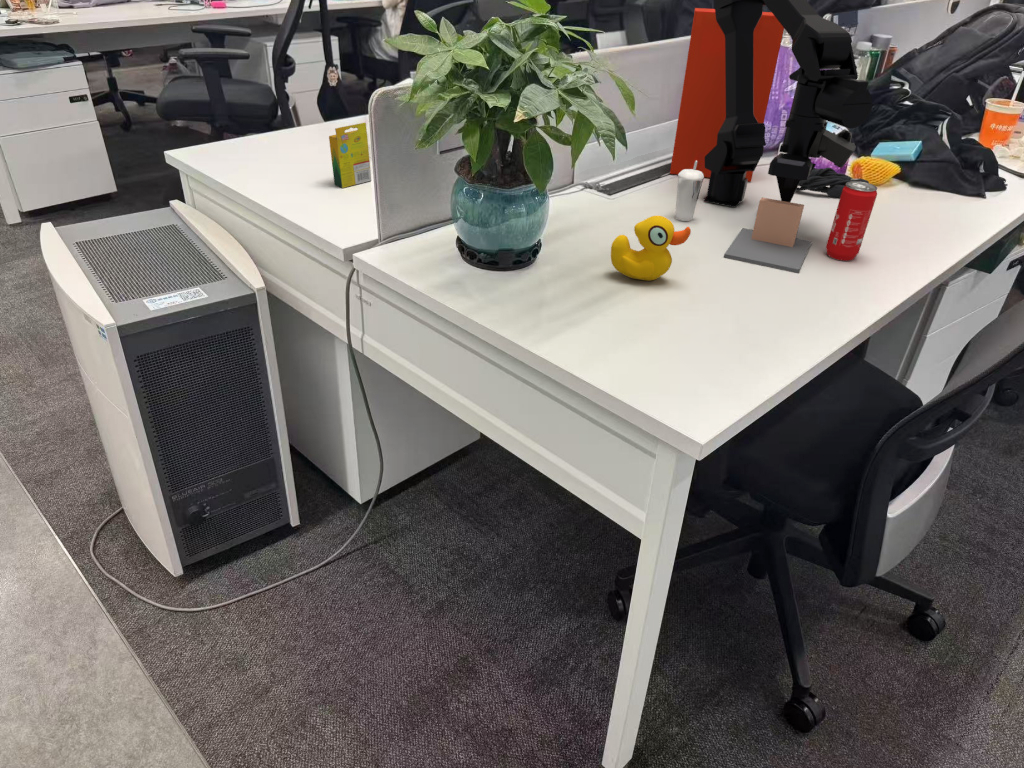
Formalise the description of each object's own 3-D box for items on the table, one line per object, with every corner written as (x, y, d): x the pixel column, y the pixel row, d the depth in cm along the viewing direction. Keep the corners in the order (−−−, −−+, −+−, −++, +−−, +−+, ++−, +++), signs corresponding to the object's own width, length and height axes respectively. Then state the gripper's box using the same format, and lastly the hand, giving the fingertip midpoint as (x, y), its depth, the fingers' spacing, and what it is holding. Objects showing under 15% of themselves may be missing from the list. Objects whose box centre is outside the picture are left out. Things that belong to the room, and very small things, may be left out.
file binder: (671, 164, 164) (695, 7, 146) (748, 171, 161) (783, 12, 143) (669, 174, 157) (694, 11, 140) (750, 182, 154) (786, 16, 137)
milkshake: (699, 215, 136) (709, 162, 130) (692, 224, 132) (702, 170, 126) (675, 211, 137) (684, 158, 132) (668, 220, 133) (677, 166, 128)
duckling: (681, 275, 113) (692, 214, 107) (681, 290, 108) (692, 226, 103) (609, 267, 114) (616, 206, 109) (606, 281, 110) (613, 218, 105)
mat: (723, 257, 119) (724, 253, 119) (741, 230, 130) (742, 227, 129) (798, 273, 115) (799, 269, 115) (810, 244, 125) (811, 241, 125)
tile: (751, 238, 125) (760, 199, 121) (752, 236, 126) (761, 197, 122) (792, 247, 122) (803, 207, 119) (794, 244, 124) (804, 204, 120)
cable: (785, 197, 148) (790, 176, 145) (772, 177, 159) (776, 157, 157) (871, 203, 147) (877, 181, 144) (851, 182, 158) (857, 162, 156)
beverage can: (841, 263, 119) (863, 192, 112) (817, 252, 122) (837, 183, 116) (863, 258, 121) (886, 188, 114) (838, 247, 124) (859, 179, 118)
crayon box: (363, 177, 149) (358, 119, 142) (372, 181, 147) (367, 122, 140) (333, 185, 144) (327, 125, 138) (341, 188, 142) (335, 128, 136)
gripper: (854, 132, 109) (826, 230, 117) (865, 109, 123) (839, 198, 131) (779, 122, 113) (757, 217, 121) (797, 101, 127) (777, 188, 135)
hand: (785, 205), depth 127 cm, fingers closed
